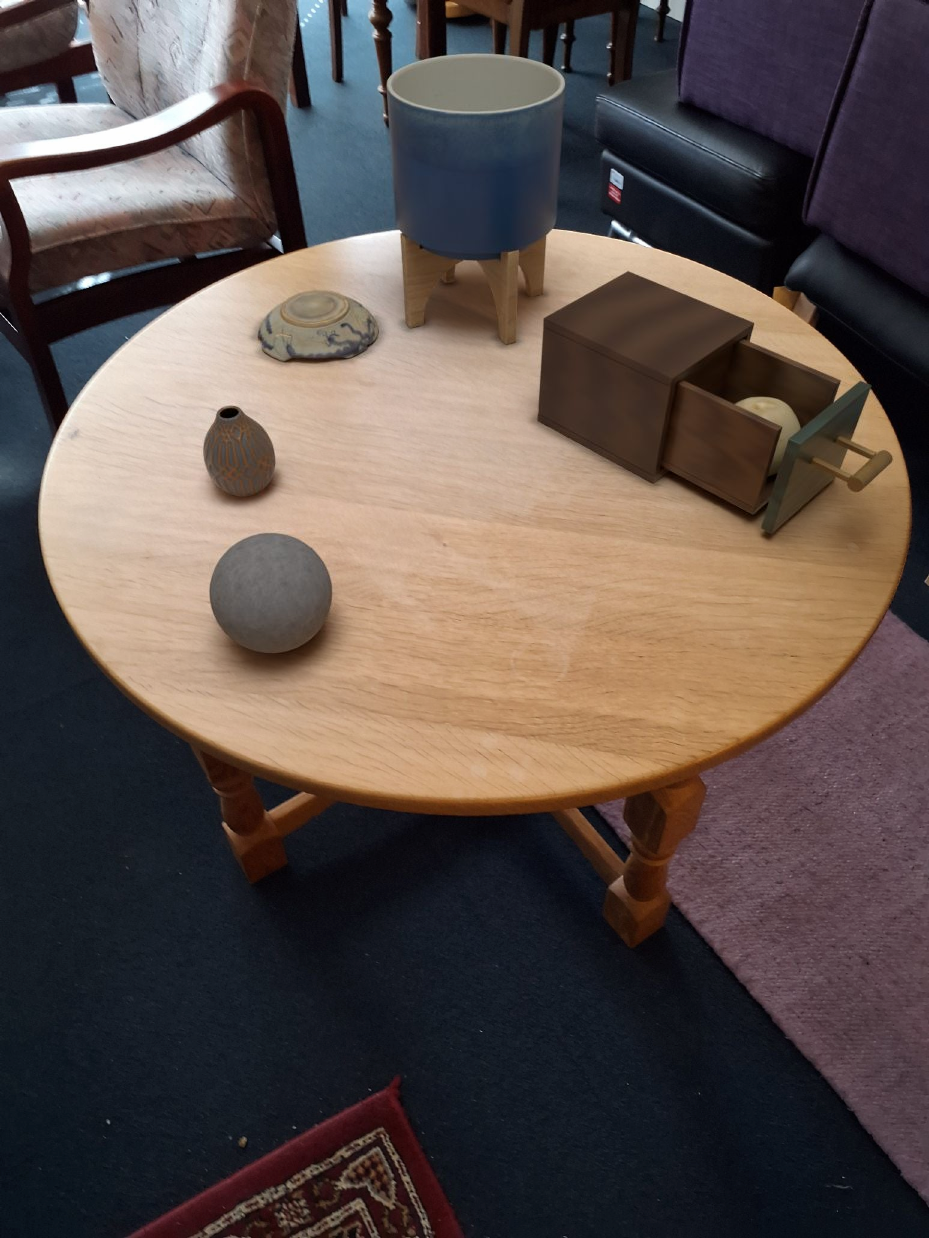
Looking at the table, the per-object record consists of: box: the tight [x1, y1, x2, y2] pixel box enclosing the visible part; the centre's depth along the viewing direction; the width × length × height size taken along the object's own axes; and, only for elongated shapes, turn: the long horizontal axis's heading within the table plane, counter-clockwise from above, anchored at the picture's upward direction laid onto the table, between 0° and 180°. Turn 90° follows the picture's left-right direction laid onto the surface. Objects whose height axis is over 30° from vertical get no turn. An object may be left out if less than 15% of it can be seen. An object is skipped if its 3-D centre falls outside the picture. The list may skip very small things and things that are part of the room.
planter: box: [386, 53, 566, 345], centre depth 106 cm, size 19×19×26 cm
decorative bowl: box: [257, 289, 379, 363], centre depth 111 cm, size 15×4×15 cm
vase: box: [202, 405, 276, 497], centre depth 89 cm, size 7×7×9 cm
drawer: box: [661, 338, 894, 534], centre depth 86 cm, size 20×13×10 cm, turn 45°
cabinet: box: [537, 270, 755, 484], centre depth 94 cm, size 16×14×12 cm
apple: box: [735, 397, 800, 476], centre depth 88 cm, size 8×8×8 cm
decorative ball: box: [208, 532, 333, 654], centre depth 74 cm, size 10×10×10 cm
